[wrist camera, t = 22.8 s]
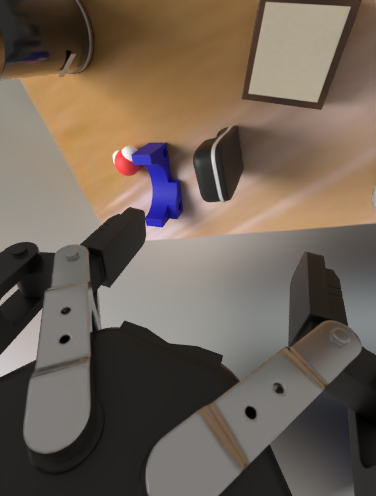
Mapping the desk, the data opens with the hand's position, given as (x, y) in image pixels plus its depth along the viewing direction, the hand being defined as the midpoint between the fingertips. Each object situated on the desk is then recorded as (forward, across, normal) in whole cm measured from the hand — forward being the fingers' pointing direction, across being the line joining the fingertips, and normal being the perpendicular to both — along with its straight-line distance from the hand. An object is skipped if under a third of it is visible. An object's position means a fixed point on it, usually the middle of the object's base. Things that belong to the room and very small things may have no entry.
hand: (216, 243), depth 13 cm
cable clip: (+28, +14, +11) cm, 33 cm away
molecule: (+28, +20, +8) cm, 36 cm away
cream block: (+25, -1, -7) cm, 26 cm away
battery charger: (+28, +4, +5) cm, 29 cm away
